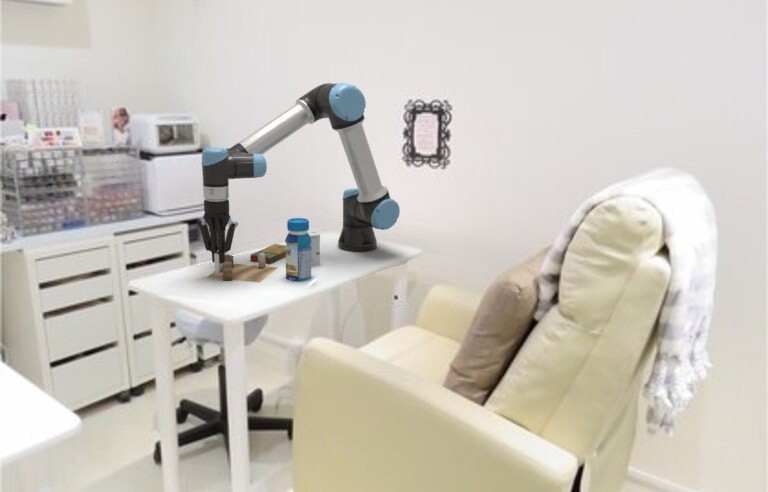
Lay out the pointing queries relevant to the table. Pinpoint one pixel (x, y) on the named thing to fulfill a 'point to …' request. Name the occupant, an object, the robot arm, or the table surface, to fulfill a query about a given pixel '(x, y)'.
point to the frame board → (247, 273)
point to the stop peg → (261, 261)
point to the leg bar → (228, 267)
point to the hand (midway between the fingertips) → (219, 272)
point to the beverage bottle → (298, 250)
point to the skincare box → (315, 249)
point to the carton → (271, 254)
